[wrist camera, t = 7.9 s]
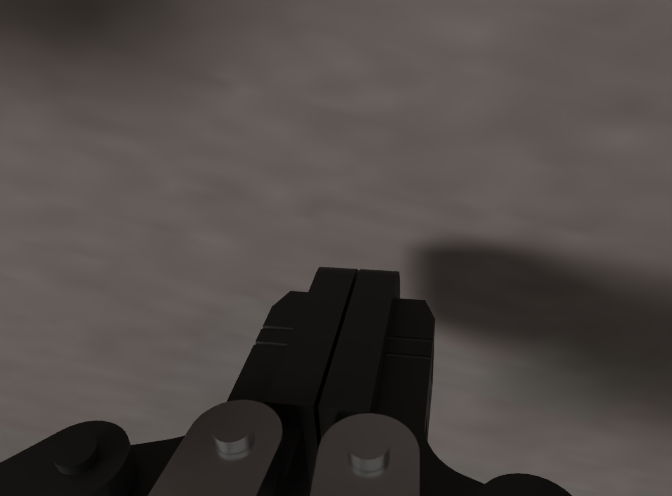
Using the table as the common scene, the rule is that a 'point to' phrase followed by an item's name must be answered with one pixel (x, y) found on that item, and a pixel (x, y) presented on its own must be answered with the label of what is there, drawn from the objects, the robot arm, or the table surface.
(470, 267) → the table surface
